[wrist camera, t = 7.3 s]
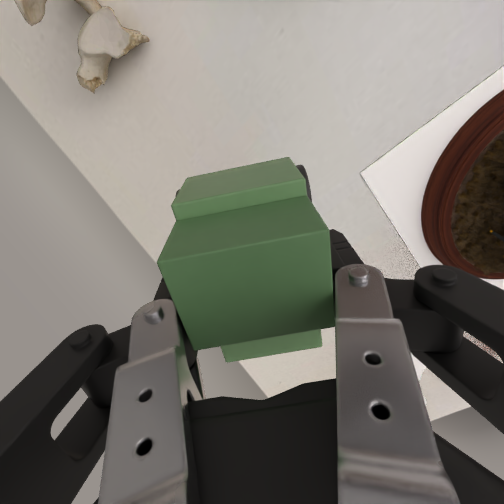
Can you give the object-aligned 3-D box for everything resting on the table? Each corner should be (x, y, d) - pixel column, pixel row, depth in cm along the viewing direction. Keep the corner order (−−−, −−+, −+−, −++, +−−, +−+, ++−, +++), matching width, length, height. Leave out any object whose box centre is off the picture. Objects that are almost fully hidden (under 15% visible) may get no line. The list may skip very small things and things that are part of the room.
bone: (164, 99, 27) (55, 88, 19) (117, 97, 30) (4, 85, 22) (157, -19, 24) (19, -95, 16) (104, -10, 26) (-37, -72, 18)
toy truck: (178, 176, 12) (130, 246, 6) (297, 151, 11) (347, 204, 6) (220, 308, 15) (211, 423, 10) (313, 292, 15) (353, 402, 10)
